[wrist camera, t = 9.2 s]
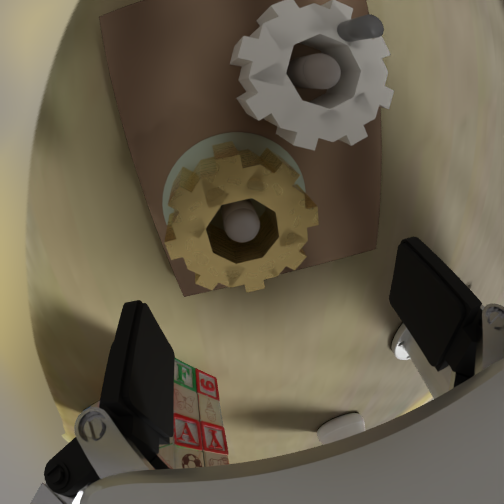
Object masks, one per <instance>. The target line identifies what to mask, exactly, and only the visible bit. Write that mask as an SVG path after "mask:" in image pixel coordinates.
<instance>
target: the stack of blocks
mask: <svg viewBox="0 0 504 504" xmlns="http://www.w3.org/2000/svg"><path fill="white" fill-rule="evenodd" d="M219 401H220V400H219V392H218V385H217V379H216V378H215V377H213V376H211V375H209V374H207V373H205V372H203V371H200V370H198V369H196V368H194V367H192V366H190V365H188V364H186V363H184V362H182V361H180V360H178V359H176V358H175V365H174V434H173V437H170V444H167V445H159V454H160V455H161V456H162V457H163V459H164V460H165V461H166V462H167V463H168V464H169V465H170V466H171V467H172V468H173V469H183V468H198V467H210V466H219V465H228V464H229V461H228V456H227V455H228V447H227V441H226V435H225V430H224V427H223V421H222V416H221V409H220V403H219ZM99 404H100V401H98V402H97V403H95V404H93V405H91V406H90V407H88V408H92V407H98V408H99ZM88 408H86V409H88ZM86 409H85V410H86ZM83 411H84V410H83Z"/></svg>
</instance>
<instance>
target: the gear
mask: <svg viewBox="0 0 504 504" xmlns="http://www.w3.org/2000/svg"><path fill="white" fill-rule="evenodd" d="M352 12H353V8H351V7H349V6H347V5H345V4H343V3H340V2H338V1H336V0H331V1H329V2H327V3H325V4H323V5H321V6H320V5H318V4H315V3H313V4H310V5H307V6H305V7H302V8H299V7H298V5H297V4H296V3H295V1H294V0H284V1H281V2H278V3H276V4H273V5H271V6H270V7H269V8H268V9H267V10H266V11H265V12H264V13H263V14H262V15H261V16H260V17H259V18H258V19H257V22H258V24H259V25H260V27H259V28H258V29H257V30H256V31H254V32H253V33H252V34H251V35H250V37H247V36H243V37H242V38H241V39H240V40H239V41H238V43H237V44H236V45H235V46H234V49H233V53H232V57H231V61H230V64H231V65H236V66H241V67H242V68H241V72H240V76H239V82H240V83H241V85H242V86H243V88H244V89H245V90H246V92H245V93H244V94H242V95H240V96H239V97H237V98H236V99H237V100H238V102H239V103H240V104H241V106H242V107H243V109H244V110H245V112H246V113H247V114H248V115H250V116H251V117H253V118H255V119H257V120H258V121H259V120H261V119H263V118H264V119H265V120H266V121H268V122H270V123H272V124H274V125H276V126H277V130H276V134H277V135H279V136H280V137H282V138H283V139H285V140H286V141H288V142H289V143H291V144H292V145H294V146H298V147H302V148H306V149H310V150H314V151H315V148H316V145H317V141H318V138H320V139H324V140H327V141H331V142H335V141H336V140H340V141H343V142H345V143H347V144H349V145H351V146H352V145H354V144H355V143H357V142H359V141H361V140H362V139H364V138H366V137H367V136H368V135H367V133H366V130H365V128H364V124H366V123H368V122H370V121H372V120H374V119H375V118H376V114H377V111H378V108H379V107H383V108H387V109H389V107H390V104H391V100H392V96H393V93H394V90H392V89H390V88H388V87H386V86H385V82H386V79H387V75H388V71H387V68H386V66H385V64H384V62H383V60H382V58H384V57H386V56H389V55H391V54H390V52H389V50H388V48H387V46H386V44H385V42H384V40H383V38H382V36H381V35H382V34H383V31H384V28H383V24H382V22H381V21H380V20H379V19H378V18H377V17H376V16H374V15H370V14H368V15H364V16H360V17H357V18H354V19H351V16H352ZM297 43H300V44H303V45H306V46H309V47H312V48H315V49H318V50H320V51H321V52H322V54H326V55H329V56H331V57H332V58H334V59H335V60H336V61H337V63H338V64H339V66H340V70H341V76H340V79H339V81H338V82H337V84H336V85H334V86H333V87H331V88H328V89H327V92H326V93H325V94H323V95H321V96H319V97H317V98H315V99H314V100H312V101H310V102H306V101H303V100H302V99H301V97H300V96H299V94H298V92H297V91H296V89H295V87H294V86H293V84H292V82H291V81H290V79H289V77H288V76H287V74H286V72H287V68H288V65H289V61H290V57H291V53H292V50H293V46H294V45H295V44H297Z"/></svg>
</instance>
